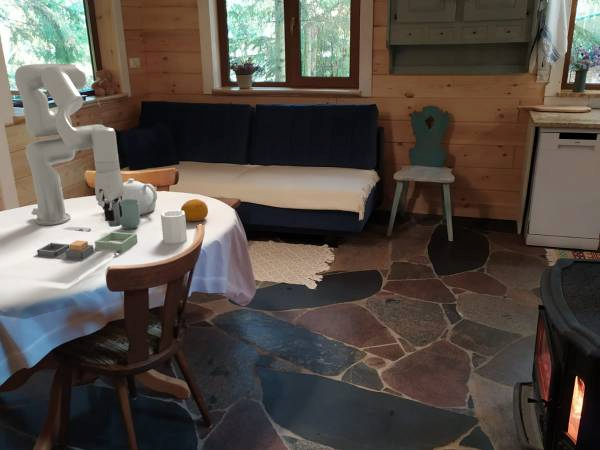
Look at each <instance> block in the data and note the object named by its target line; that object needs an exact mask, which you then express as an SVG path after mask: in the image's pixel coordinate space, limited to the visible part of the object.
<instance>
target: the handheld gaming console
mask: <svg viewBox="0 0 600 450" xmlns="http://www.w3.org/2000/svg"><path fill="white" fill-rule="evenodd" d="M63 230H64V231H75V232H88V233H89V232H91V231H92V229H91V227H80V226H79V227H77V226H76V227H75V226H69V227H65V228H63Z"/></svg>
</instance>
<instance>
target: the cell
mask: <svg viewBox="0 0 600 450" xmlns="http://www.w3.org/2000/svg"><path fill="white" fill-rule="evenodd" d="M106 204H108V203H107V202H106ZM112 210H113V211H114V219H115V221H107V222H108V223H107V224H108V226H109V227H111V228H112V227H113V228H114V227H119V226H121V219H120V211H119V203H118V201H114V200H112Z"/></svg>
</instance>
